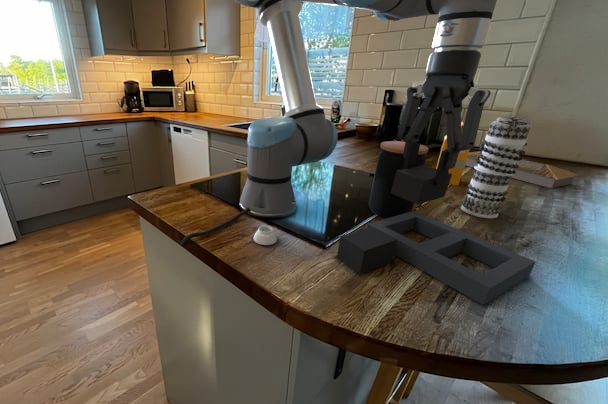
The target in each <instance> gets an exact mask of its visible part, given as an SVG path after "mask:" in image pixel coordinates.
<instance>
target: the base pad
mask: <svg viewBox="0 0 608 404" xmlns="http://www.w3.org/2000/svg"><path fill="white" fill-rule="evenodd" d="M372 226H373V227H375V228H376V229H378V230H380V231H382V232H384V233H386V234H388V235H390V236H392V237H394V238H396V239H397V244H396V248H395V251H394V255H395V256H397V257H398V258H400V259H401V260H403V261H405V262H407V263H408V264H410V265H412V266H414V267H415V268H417V269H419V270H420V271H422V272H425V273H426V274H427V275H429V276H432V277H433V278H435V279H436V280H438V281H440V282H442V283H443V284H445V285H447V286H448V287H450V288H452V289H454V290H456V291H457V292H459V293H461V294H462V295H464V296H466V297H468V298H470V299H471V300H473V301H475V302H476V303H478V304H480V305H481V306H484V305H487V304H488V303H490V302H491V301H492V300H495V298H497V297H500V295H502V294H504V293H505V292H507V291H508V290H511V289H512V288H513V287H515V286H517V285H519V284H520V283H522V282H523V281H525V280H526V279H528V278H529V277H530V275H531V273H532V271H533V269H534V267H535V265H536V263H537V261H536V260H533V259H531V258H529V257H526V256H523V255H522V254H519V253H516V252H514V251H513V250H512V251H511V250H509V249H507V248H504V247H502V246H500V245H497V244H495V243H492V242H490V241H488V240H485V239H482V238H480V237H478V236H475V235H473V234H471V233H468V232H466V231H464V230H461V229H459V228H457V227H454V226H451V225H449V224H447V223H444V222H441V221H439V220H437V219H434V218H432V217H430V216H428V215H425V214H422V213H420V212H418V211H415V210H412V211H411V212H408V213H404V214H401V215H397V216H394V217H391V218H384V219H381V220H377V221H374V222H370V223H367V227H366V228H368V227H372ZM410 231H415V232H417V233H419V234H422V235H424V236H426V237H428V238H430V239H429V240H426V241H423V242H420V243H419V242H417V241H415V240H412V239H411V238H409V237H406V236H404V235H403V234H404V233H407V232H410ZM461 253H462V254H464V255H465V256H466V255H467V256H468V257H470V258H473V259H474V260H476V261H479V262H481V263H482V264H485V265H487V266H490V267H491V268H492V269H489V270H488V271H486V272H485V273H483V274H480V273H478V272H476V271H474V270H473V269H470V268H468V267H466V266H464V265H462V264H461V263H459V262H457V261H454V260H452V259H451V258H452V257H455V256H457V255H459V254H461Z"/></svg>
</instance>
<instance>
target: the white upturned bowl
mask: <svg viewBox="0 0 608 404" xmlns="http://www.w3.org/2000/svg"><path fill="white" fill-rule="evenodd" d="M273 229H274V228H273V227H272V226H271V225H261V226H258V229H256V231H255V233H254V235H253V241H254V242H255V243H256V244H259V245H262V246H271V245H274V244H275V243H276V242H277V240H278V237H277V234H276V233H275V231H274V230H273Z"/></svg>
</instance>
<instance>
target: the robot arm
mask: <svg viewBox="0 0 608 404" xmlns="http://www.w3.org/2000/svg"><path fill="white" fill-rule="evenodd" d="M497 1H498V0H234V2H236V3H237V4H240V5H242V6H245V7H249V8H254V9H257V12H258V16H259V20H260V24H262V25H263V26H265V27H267V31H268V35H269V40H270V45H271V49H272V54H273V59H274V64H275V68H276V73H277V79H278V83H279V88H280V93H281V97H282V101H283V105H284V110H285V111H284V112H285V113H284V115H283V116H280V115H279V116H268V117H267V116H266V117H262V118H259V119H256V120H254V121H253V122H251V123H250V125H249V127H248V129H247V131H248V132H247V138H246V143H247V156H246V157H247V162H246V163H247V164H246V165H247V166H246V181H245V184H244V186H243V190H242V192H241V194H240V198H239V208H240V210H241V212H239V213H237V214H236V215H235V216H233V217H232V218H230V219H227V220H226V221H224V222H222V223H220V224H218V225H216V226H214V227H212V228H209V229H207V230H204V231H197V232H192V233H189V234H188V235H186V236H185V237H184V238H183V239H182V240H181V241H180V243H179V245H180V246H184V245H185V244H186V243H187V242H188V241H189V240H191V239H192V238H195V237H202V236H207V235H210V234H212V233H214V232H216V231H219V230H220V229H222V228H225V227H226V226H228V225H230V224H231V223H234V222H235V221H237V220H238V219H240V218H241V217H243V215H245V214H246V215H249V216H251V217H254V218H259V219H268V220H269V219H270V220H272V219H273V220H275V219H282V218H287V217H289V216H291V215H293V214H294V213H295V212H296V209H297V200H296V195H295V192H294V187H293V184H292V175H293V168H294V167H296V166H302V165H307V164H313V163H314V164H315V163H317V162H321V161H322V160H325V159H327V158H329V157H330V156H331V155H332V154H333V152H334V150H335V149H336V147H337V144H338V139H339V137H338V136H339V135H338V129H337V127H336V125H335V123H334V122H333V121H331V120H330V119H329V118H326V114H325V110H324V107H322V106H321V105H319V104H318V103H317V99H316V94H315V89H314V85H313V79H312V75H311V71H310V65H309V61H308V55H307V51H306V46H305V40H304V36H303V32H302V27H301V21H300V17H299V16H300V15H301V13H302V11H303V8H304V7H303V4H305V3H312V4H319V5H330V6H338V7H345V8H352V9H360V10H366V11H371V12H373V13H374V15H376V18H377V20H379V21H383V22H385V21H392V22H393V21H394V22H397V21H400V20H404V19H412V18H419V17H424V16H433V15H438V18H437V23H436V27H435V30H434V35H433V41H432V44H431V48H432V49H433V50H434V51H433V52H431V54H429V57H428V61H427V64H426V65H427V66H426V70H425V73H426V74H425V75H426V76H425V80H424V81H423V82H422V84H421V85H418V86H412V87H411V86H409V87H407V89H406V99H407V100H406V103H405V106H404V110H403V114H402V117H401V120H400V121H401V122H400V125H399V127H398V132H397V137H398V138H399V139H402V140H403V142H405V147H404V152H403V158H405V162H404V166H403V169H407V168H412V167H415V164H416V160H417V156H418V152H419V148H420V145H422V144H421V142H420V139H419V138H420V136H421V135H422V134H423V131H424V129H425V128H426V127H427V124H428V122H429V121H430V120H431V118H432V115H433V114H434V113H435V111H437V109H438V108H442V109H443V112H444V114H445V124H446V127H445V128H446V135H447V149H445V150H444V151H442V153H441V152H440V153H441V157H440V160H439V159H438V160H439V164H438V163H437V164H438V167H437V166H436V167H437V171H436V175H435V179H434V182H433V184H434V185H441V184H445V182H446V179H447V175H448V172H449V169H452V168H454V167H455V165H456V162H457V158H458V155H459V152H460V151H462V150H468V149H470V150H472V149H474V148H475V144H476V139H477V135H478V131H479V127H480V124H481V123H480V122H481V118H482V114H483V110H484V106H485V104H486V103H487V101H488V99H489V98H490V96H491V94H492V92H491V91H490V90H489V89H481V88H479V87H475V82H474V78H475V76H476V74H477V71H478V67H479V64H480V61H481V58H482V53H481V51H479V49H482V48H483V47H485V44H486V40H487V38H488V33H489V29H490V26H491V22H492V18H493V14H494V11H495V8H496V4H497ZM422 96H424V99H423V101H422V102H421V99H422ZM468 96H469V97H468ZM467 97H468V101H469V103H468V106H467V108H466V113H465V117H464V121H463V125H464V126H463V130H461V122H462V112H463V101H464V100H465V98H467ZM420 103H421V104H420ZM419 109H420V110H419ZM418 110H419V112H418ZM417 113H418V114H417Z"/></svg>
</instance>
